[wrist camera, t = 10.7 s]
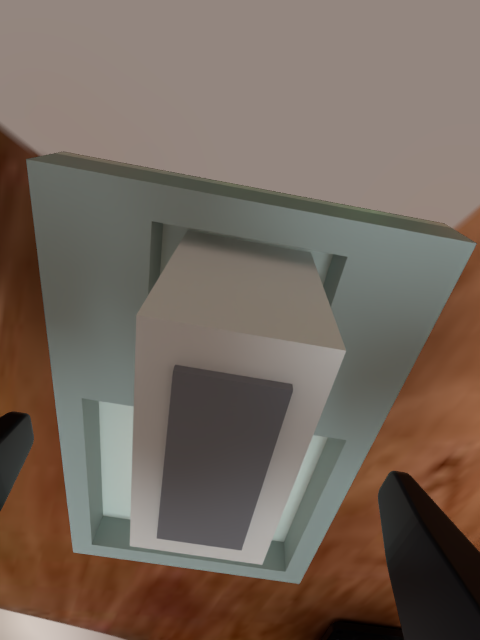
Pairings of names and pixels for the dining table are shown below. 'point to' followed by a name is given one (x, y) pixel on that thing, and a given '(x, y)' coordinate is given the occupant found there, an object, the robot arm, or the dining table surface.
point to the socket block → (226, 394)
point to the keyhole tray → (138, 280)
